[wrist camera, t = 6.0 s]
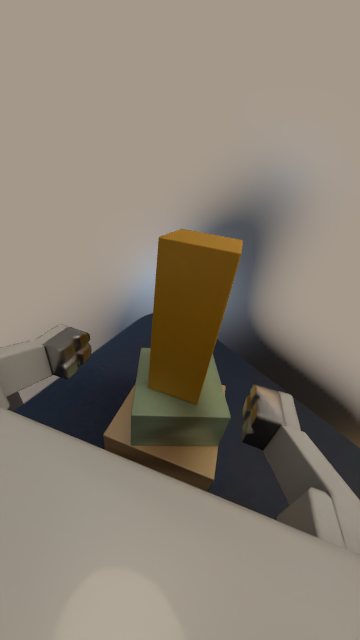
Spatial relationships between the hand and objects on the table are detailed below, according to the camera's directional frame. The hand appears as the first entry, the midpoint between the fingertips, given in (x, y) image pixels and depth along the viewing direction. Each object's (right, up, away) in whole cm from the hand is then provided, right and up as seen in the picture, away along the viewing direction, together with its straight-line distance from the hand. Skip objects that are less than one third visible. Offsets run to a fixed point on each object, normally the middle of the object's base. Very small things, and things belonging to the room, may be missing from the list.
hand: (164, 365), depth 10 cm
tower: (0, -9, +11) cm, 15 cm away
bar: (+1, -3, +7) cm, 8 cm away
